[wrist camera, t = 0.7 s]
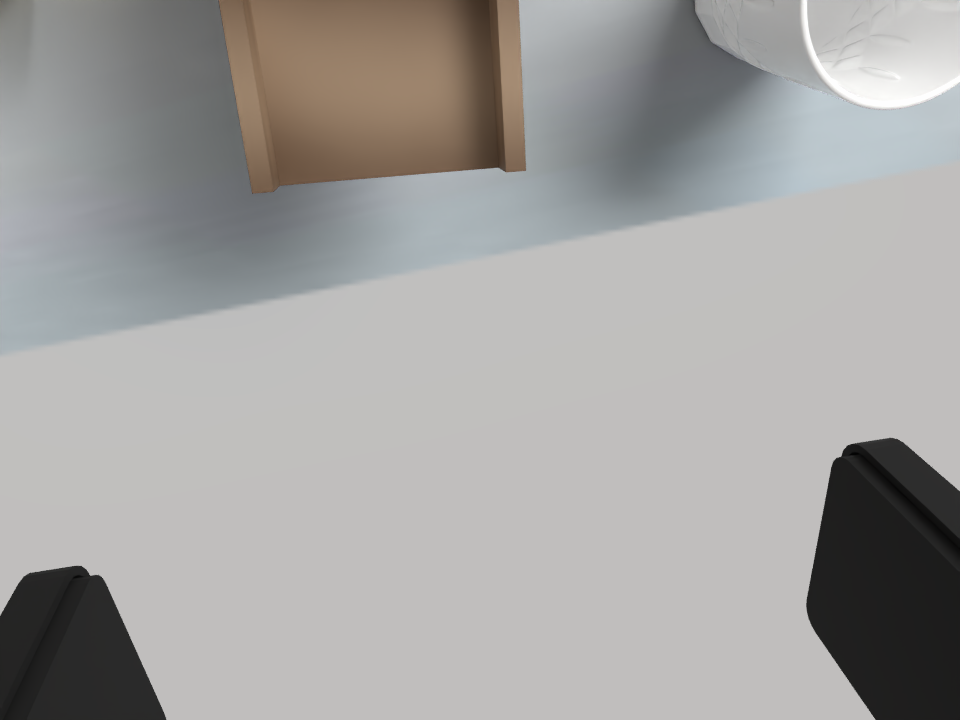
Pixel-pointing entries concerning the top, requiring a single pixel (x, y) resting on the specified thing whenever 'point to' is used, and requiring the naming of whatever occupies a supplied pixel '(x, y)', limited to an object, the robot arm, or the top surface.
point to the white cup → (845, 45)
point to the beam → (375, 87)
